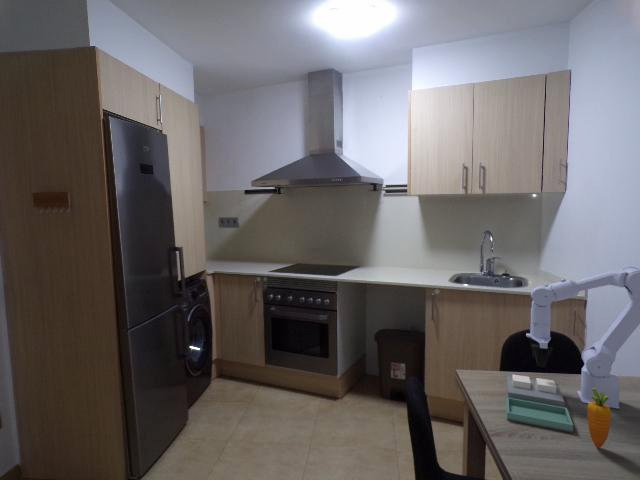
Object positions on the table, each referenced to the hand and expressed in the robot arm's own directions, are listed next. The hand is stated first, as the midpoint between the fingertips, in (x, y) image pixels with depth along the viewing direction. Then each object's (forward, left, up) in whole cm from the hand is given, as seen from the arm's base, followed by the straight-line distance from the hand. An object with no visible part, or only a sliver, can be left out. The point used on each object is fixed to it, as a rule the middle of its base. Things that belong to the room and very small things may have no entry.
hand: (539, 362), depth 124 cm
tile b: (+6, +6, -6) cm, 10 cm away
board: (+2, +7, -10) cm, 12 cm away
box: (+2, +20, -10) cm, 22 cm away
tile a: (-1, +6, -6) cm, 9 cm away
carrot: (-10, +30, -10) cm, 33 cm away
